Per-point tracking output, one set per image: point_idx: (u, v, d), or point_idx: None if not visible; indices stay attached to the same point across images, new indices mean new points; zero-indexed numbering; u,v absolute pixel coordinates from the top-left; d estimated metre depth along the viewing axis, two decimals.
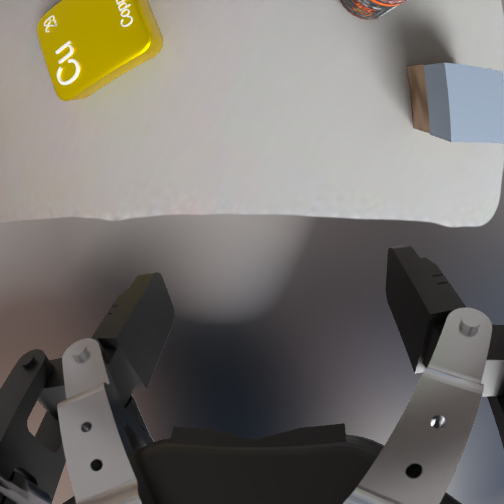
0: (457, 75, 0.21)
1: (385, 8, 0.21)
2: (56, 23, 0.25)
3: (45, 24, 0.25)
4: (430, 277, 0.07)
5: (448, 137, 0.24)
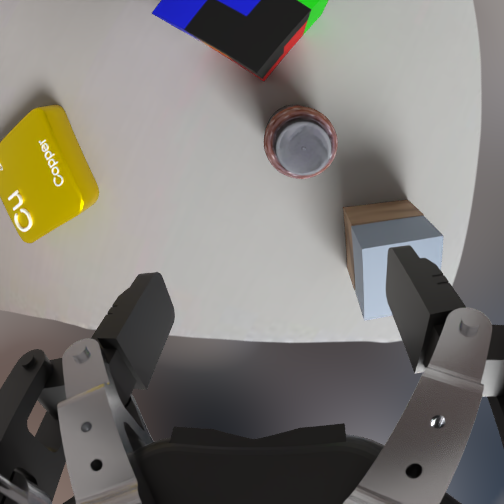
0: (377, 258, 0.26)
1: None
2: (2, 167, 0.30)
3: None
4: (430, 277, 0.07)
5: (363, 314, 0.29)
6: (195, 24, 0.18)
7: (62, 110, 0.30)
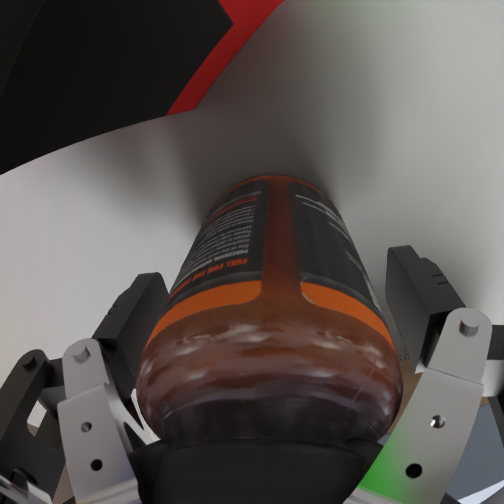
0: None
1: None
2: None
3: None
4: (430, 277, 0.07)
5: None
6: None
7: None
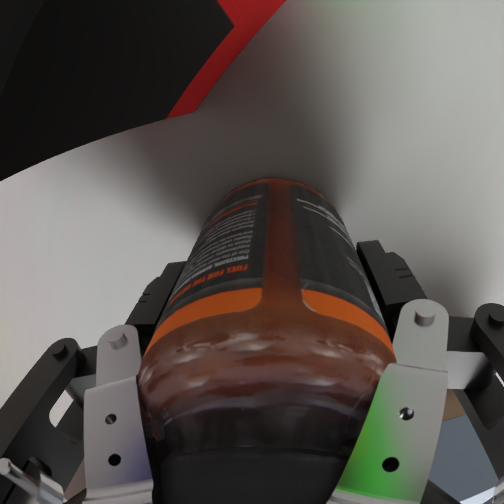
0: None
1: None
2: None
3: None
4: (392, 270, 0.08)
5: None
6: None
7: None
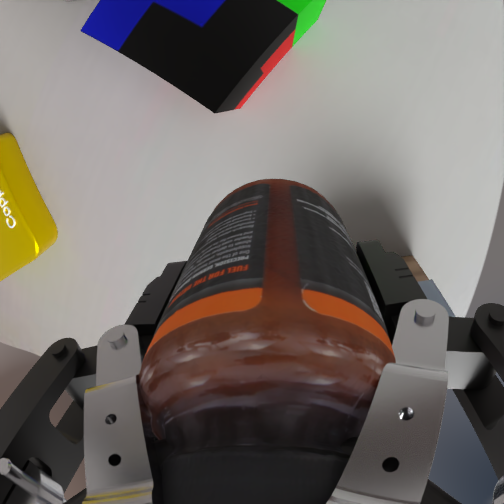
0: None
1: None
2: None
3: None
4: (392, 270, 0.08)
5: None
6: (133, 43, 0.13)
7: (13, 139, 0.25)
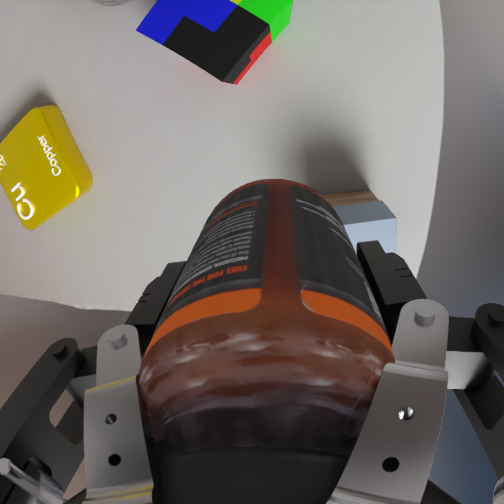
0: None
1: None
2: (4, 162, 0.34)
3: None
4: (392, 270, 0.08)
5: None
6: (172, 40, 0.22)
7: (57, 109, 0.34)
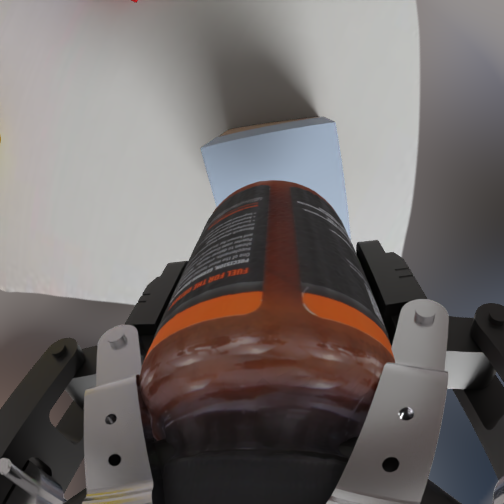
0: (227, 161, 0.18)
1: None
2: None
3: None
4: (392, 270, 0.08)
5: None
6: None
7: None
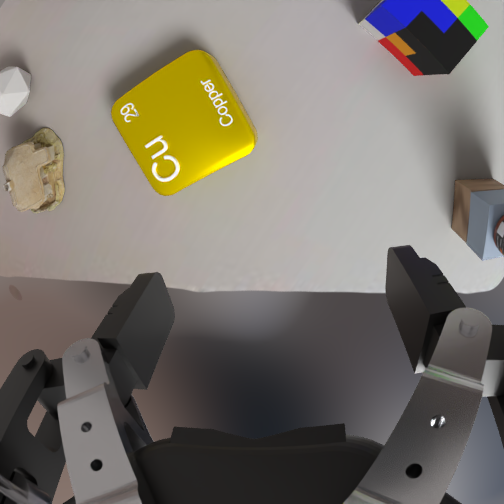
0: (496, 212, 0.30)
1: None
2: (137, 112, 0.34)
3: (122, 113, 0.34)
4: (430, 277, 0.07)
5: (480, 256, 0.34)
6: (413, 26, 0.22)
7: (214, 58, 0.34)
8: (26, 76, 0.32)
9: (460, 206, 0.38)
